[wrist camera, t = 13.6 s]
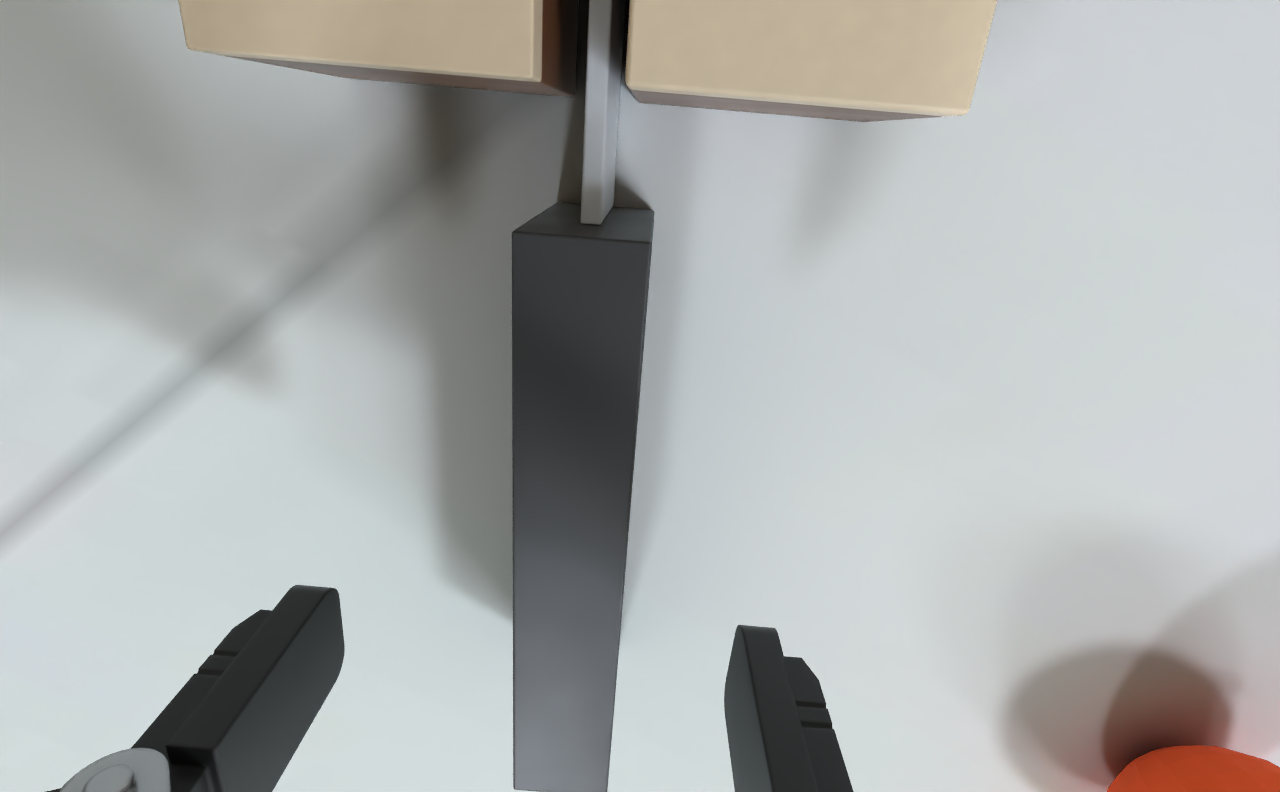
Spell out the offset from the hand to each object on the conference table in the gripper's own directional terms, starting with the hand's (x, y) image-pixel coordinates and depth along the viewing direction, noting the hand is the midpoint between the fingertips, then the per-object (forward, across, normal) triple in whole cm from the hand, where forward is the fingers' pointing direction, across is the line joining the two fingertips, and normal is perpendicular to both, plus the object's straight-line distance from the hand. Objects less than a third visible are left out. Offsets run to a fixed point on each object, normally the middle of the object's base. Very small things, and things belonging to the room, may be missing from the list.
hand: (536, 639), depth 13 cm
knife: (+6, -1, -5) cm, 8 cm away
